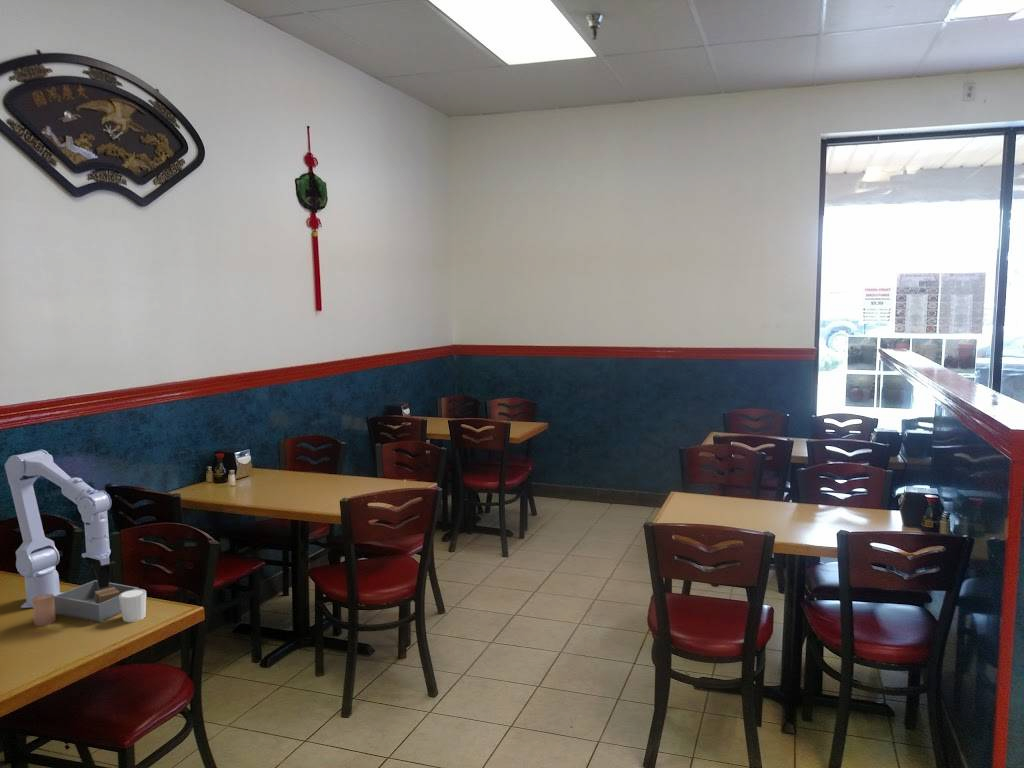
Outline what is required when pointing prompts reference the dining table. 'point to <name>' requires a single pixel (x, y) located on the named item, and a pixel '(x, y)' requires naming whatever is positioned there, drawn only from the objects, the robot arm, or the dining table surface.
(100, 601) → the walnut cube
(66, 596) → the tote
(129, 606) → the white cylinder
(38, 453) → the robot arm
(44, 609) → the terracotta cylinder
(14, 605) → the dining table surface
